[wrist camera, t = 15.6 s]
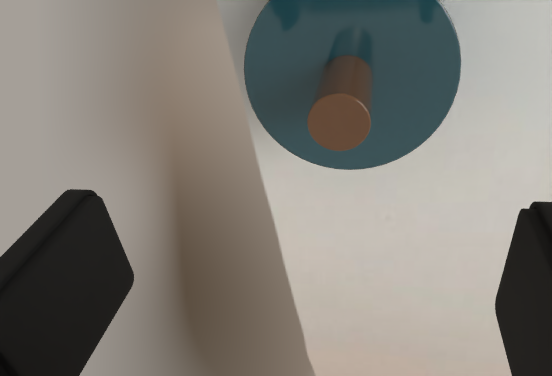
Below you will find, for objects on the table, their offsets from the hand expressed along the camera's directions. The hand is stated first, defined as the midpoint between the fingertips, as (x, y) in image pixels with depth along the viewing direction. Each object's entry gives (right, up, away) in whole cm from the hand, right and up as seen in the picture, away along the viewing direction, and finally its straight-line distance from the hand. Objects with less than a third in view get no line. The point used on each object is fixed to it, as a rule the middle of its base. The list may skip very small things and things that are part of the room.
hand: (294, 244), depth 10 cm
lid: (+3, +7, +10) cm, 13 cm away
